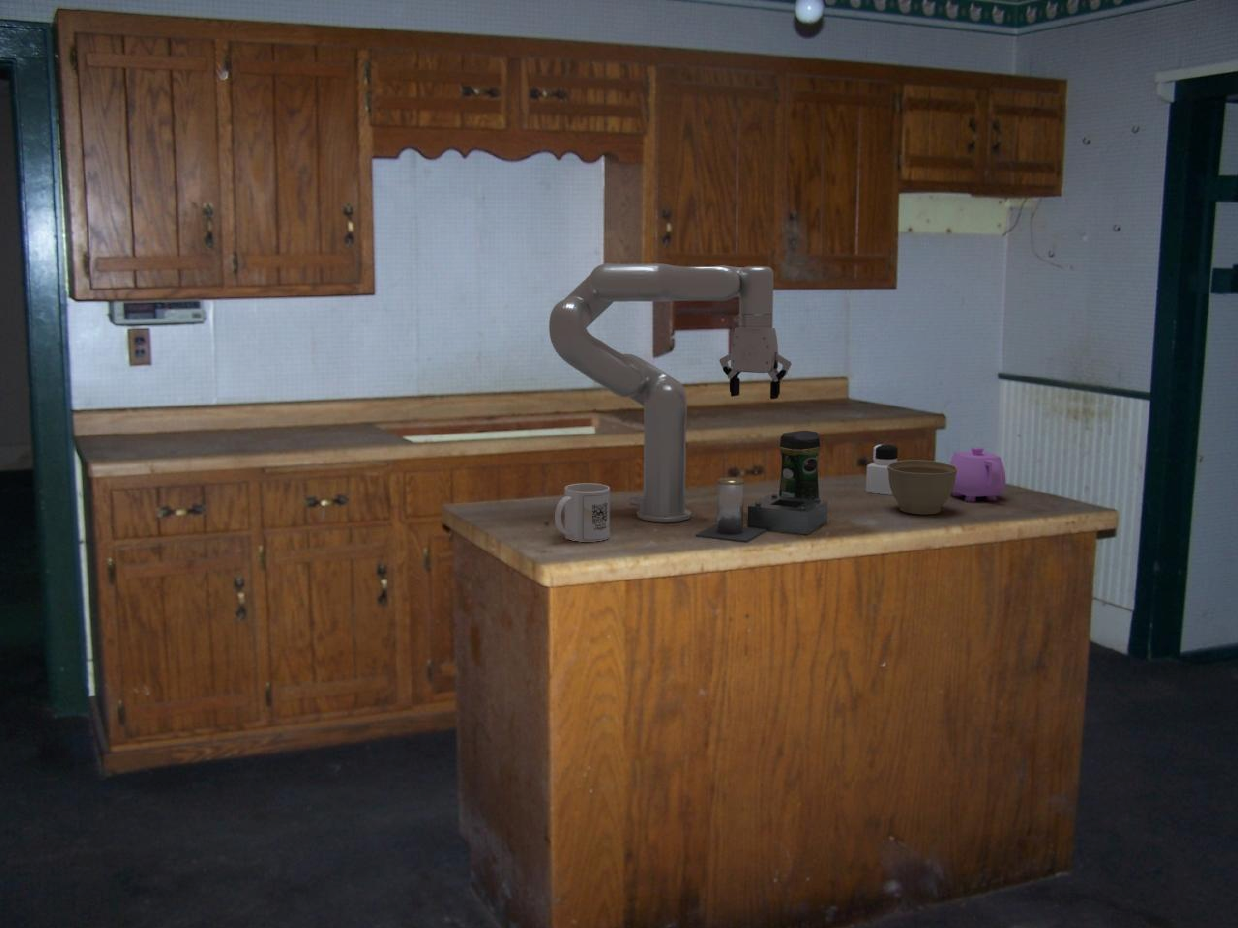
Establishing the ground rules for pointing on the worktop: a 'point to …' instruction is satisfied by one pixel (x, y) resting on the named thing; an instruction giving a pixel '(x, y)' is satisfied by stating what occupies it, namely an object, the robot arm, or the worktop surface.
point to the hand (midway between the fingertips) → (754, 397)
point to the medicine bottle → (880, 469)
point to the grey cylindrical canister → (730, 506)
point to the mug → (585, 512)
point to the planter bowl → (921, 485)
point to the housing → (787, 514)
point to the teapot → (978, 474)
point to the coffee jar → (799, 464)
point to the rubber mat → (743, 537)
